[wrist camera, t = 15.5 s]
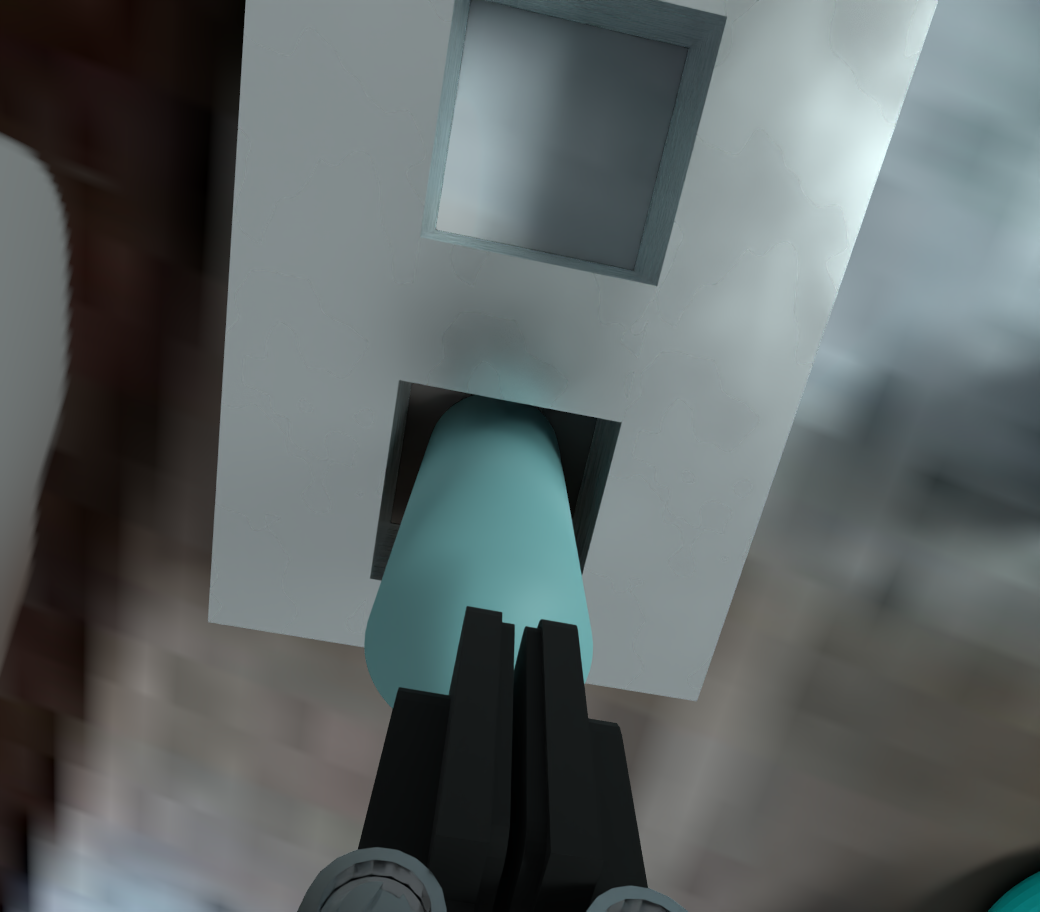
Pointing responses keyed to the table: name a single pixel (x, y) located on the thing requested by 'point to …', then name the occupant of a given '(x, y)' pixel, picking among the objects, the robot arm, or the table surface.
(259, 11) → the block
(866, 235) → the table surface
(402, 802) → the robot arm
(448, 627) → the peg
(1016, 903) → the donuts
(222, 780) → the table surface
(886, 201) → the table surface
